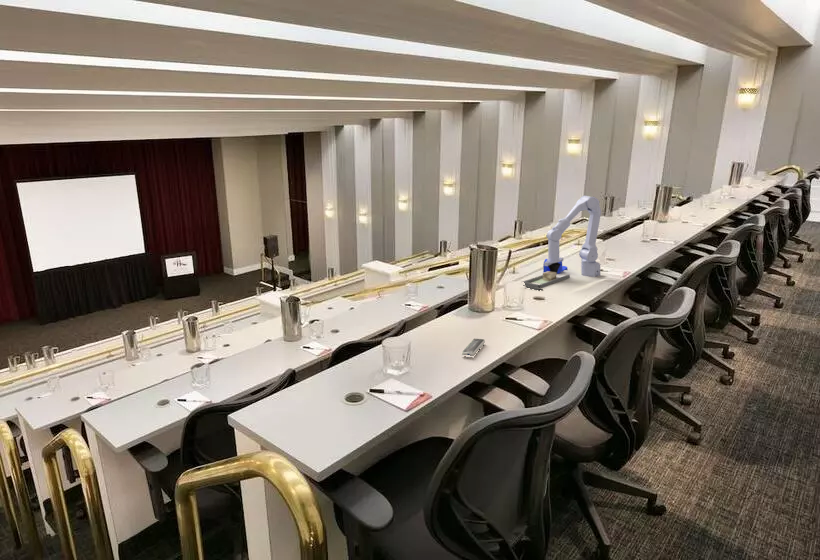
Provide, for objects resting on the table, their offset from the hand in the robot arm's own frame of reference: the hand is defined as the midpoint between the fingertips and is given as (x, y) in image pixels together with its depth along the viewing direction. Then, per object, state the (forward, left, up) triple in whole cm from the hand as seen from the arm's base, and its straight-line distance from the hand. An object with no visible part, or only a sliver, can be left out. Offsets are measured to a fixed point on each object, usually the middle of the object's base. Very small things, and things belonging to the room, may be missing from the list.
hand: (553, 276), depth 283 cm
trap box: (0, +7, -2) cm, 8 cm away
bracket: (+10, -17, -3) cm, 20 cm away
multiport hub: (-36, +100, -3) cm, 107 cm away
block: (0, +4, -1) cm, 4 cm away
